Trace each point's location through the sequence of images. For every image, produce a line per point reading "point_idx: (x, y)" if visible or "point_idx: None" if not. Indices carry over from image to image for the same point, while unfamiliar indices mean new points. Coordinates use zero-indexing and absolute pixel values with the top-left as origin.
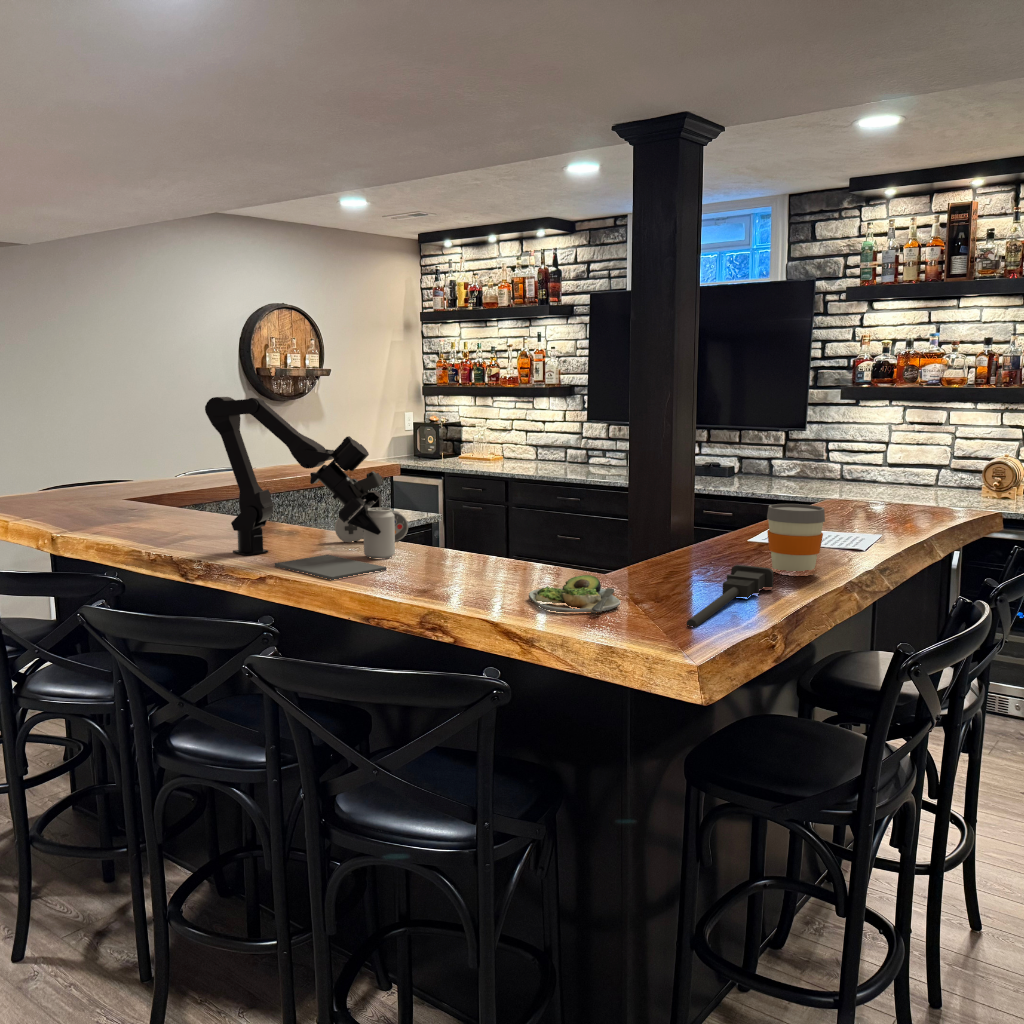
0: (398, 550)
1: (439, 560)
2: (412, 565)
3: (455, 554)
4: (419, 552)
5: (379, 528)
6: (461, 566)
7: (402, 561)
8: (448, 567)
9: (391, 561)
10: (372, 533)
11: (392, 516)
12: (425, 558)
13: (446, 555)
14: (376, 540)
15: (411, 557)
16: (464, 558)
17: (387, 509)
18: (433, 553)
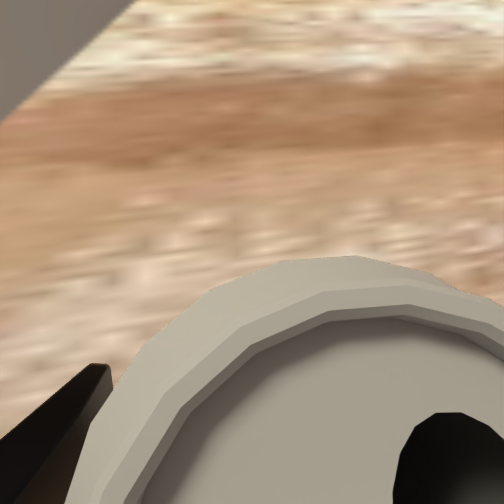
0: (42, 330)
1: (325, 93)
2: (462, 195)
3: (171, 37)
4: (115, 201)
5: (480, 425)
6: (436, 10)
7: (377, 254)
8: (467, 52)
9: None
10: (453, 495)
11: (411, 271)
12: (284, 155)
13: (199, 72)
14: (415, 433)
15: (264, 224)
16: (266, 3)
17: (189, 412)
18: (145, 131)
